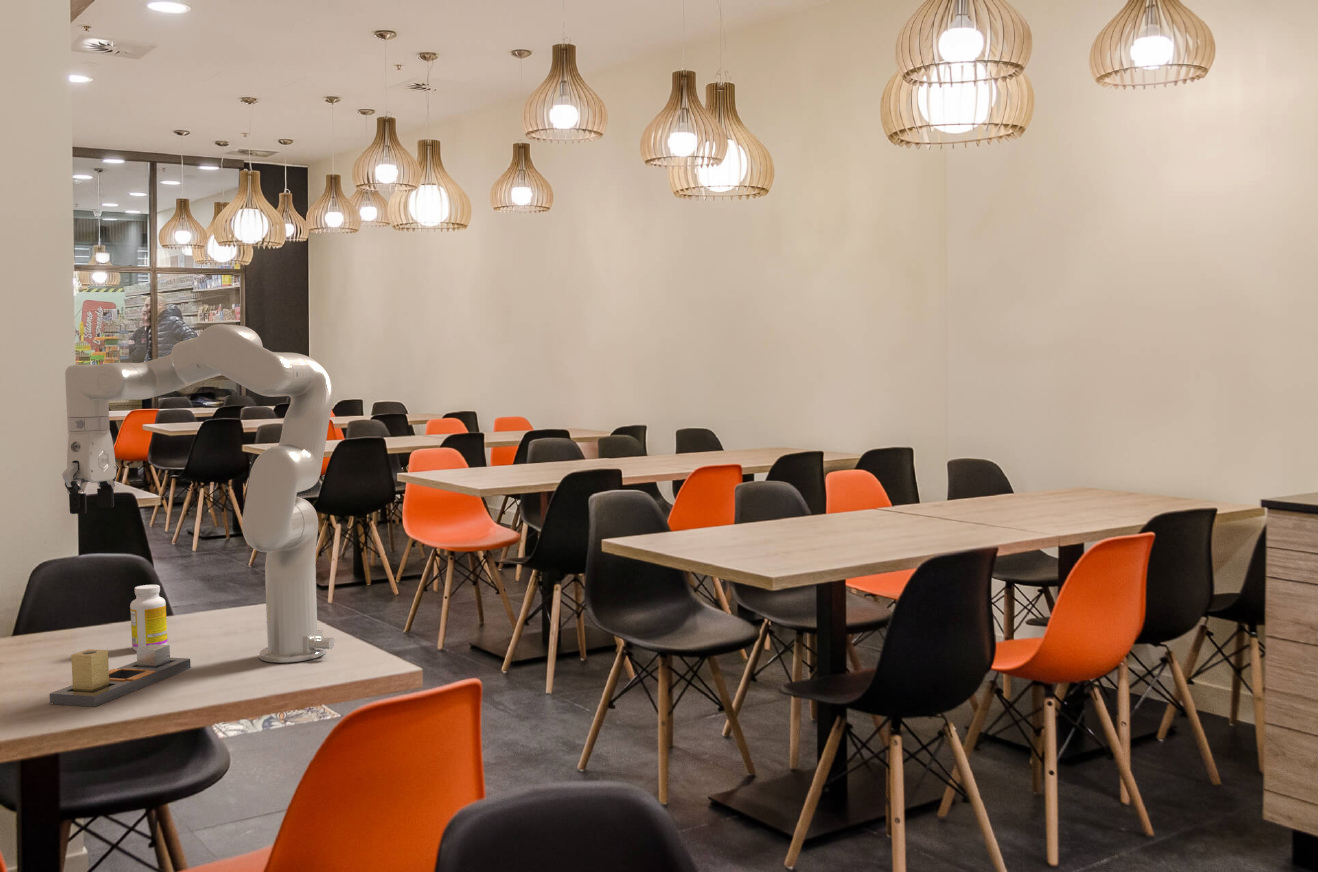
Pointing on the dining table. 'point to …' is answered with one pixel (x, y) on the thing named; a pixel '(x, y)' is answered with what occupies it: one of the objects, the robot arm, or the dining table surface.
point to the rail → (120, 683)
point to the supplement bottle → (148, 617)
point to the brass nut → (90, 671)
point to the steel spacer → (153, 656)
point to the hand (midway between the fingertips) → (92, 510)
